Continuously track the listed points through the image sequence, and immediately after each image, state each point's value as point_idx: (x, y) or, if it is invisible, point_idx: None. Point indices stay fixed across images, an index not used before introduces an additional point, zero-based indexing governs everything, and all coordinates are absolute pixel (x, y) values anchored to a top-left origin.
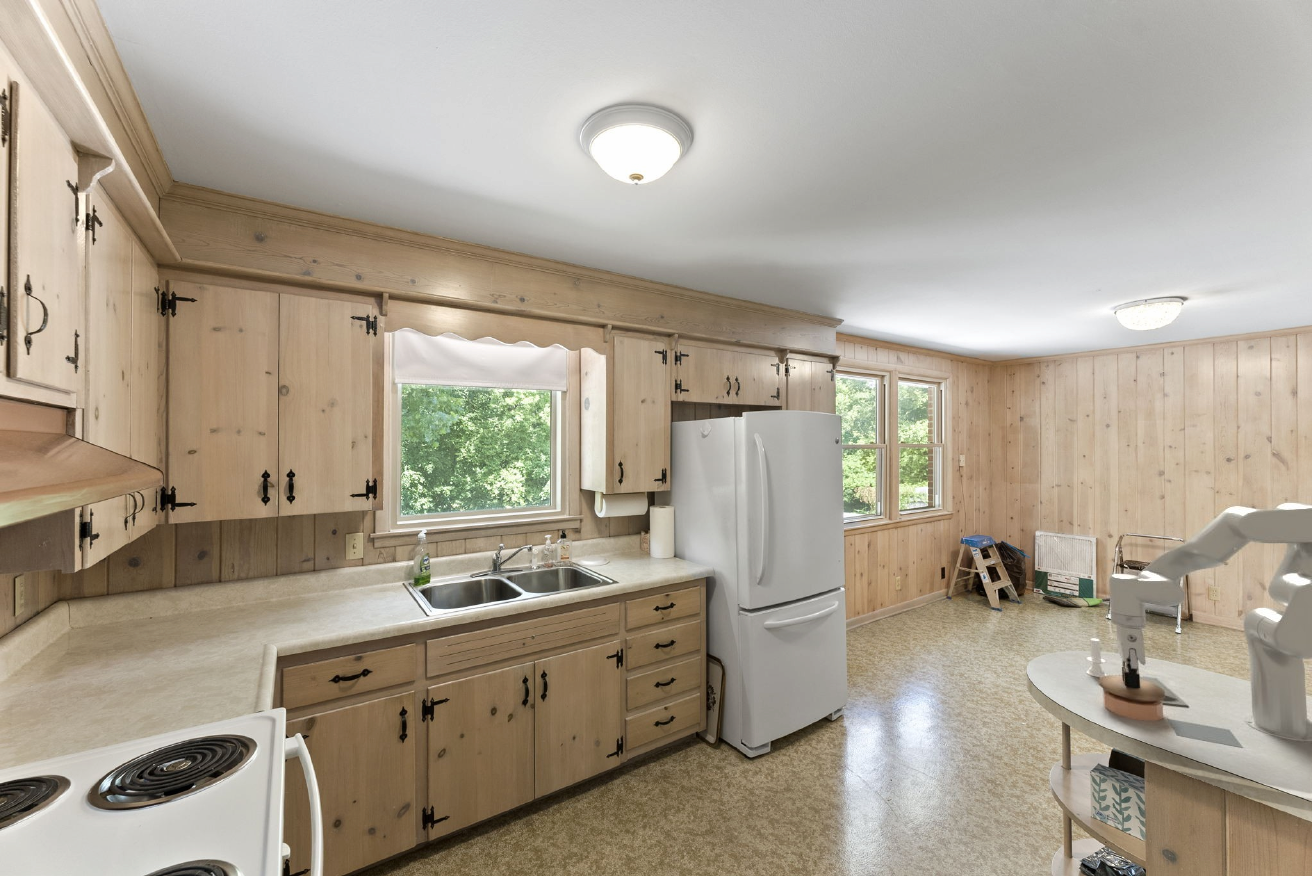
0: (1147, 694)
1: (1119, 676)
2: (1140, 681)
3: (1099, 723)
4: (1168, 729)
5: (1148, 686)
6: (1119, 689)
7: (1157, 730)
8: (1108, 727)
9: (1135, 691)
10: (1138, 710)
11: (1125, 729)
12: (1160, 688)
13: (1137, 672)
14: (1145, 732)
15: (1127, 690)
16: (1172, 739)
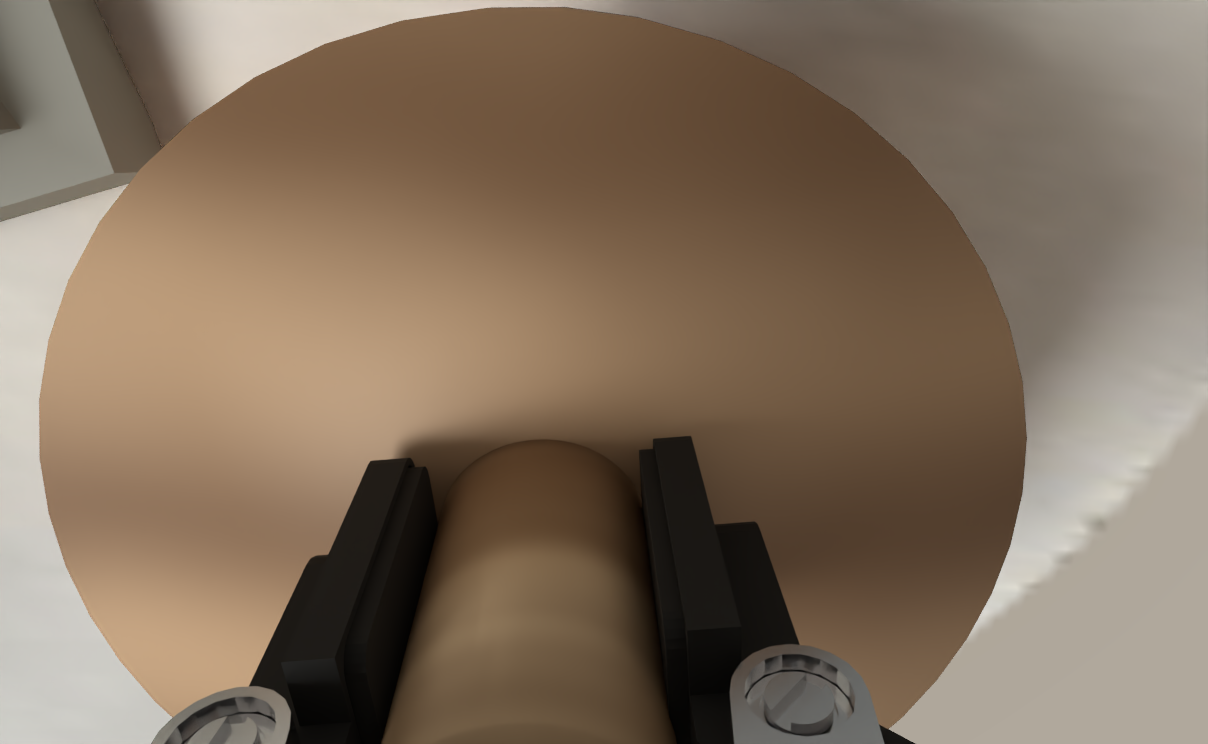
0: (896, 329)
1: (164, 652)
2: (184, 386)
3: (1002, 591)
4: (861, 13)
5: (404, 279)
6: (853, 667)
7: (950, 135)
8: (1067, 534)
9: (835, 487)
10: None
11: (1057, 414)
12: (372, 71)
13: (861, 721)
14: (1060, 254)
15: (839, 580)
16: (1156, 7)
